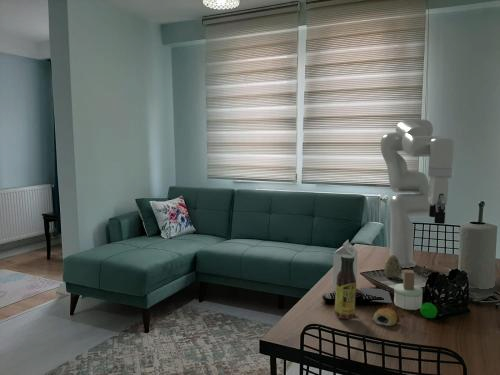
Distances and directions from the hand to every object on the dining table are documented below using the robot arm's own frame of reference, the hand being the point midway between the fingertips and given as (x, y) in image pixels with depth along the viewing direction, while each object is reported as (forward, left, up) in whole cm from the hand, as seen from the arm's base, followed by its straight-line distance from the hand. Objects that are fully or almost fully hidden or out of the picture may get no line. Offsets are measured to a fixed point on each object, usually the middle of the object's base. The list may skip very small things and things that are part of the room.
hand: (436, 220), depth 146 cm
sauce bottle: (+26, -32, -28) cm, 49 cm away
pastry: (+26, -19, -28) cm, 43 cm away
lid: (+14, -11, -22) cm, 28 cm away
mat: (+8, -21, -27) cm, 35 cm away
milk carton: (+5, -32, -28) cm, 42 cm away
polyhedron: (+22, -6, -28) cm, 36 cm away
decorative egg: (-11, -13, -28) cm, 32 cm away
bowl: (+14, -11, -27) cm, 32 cm away
